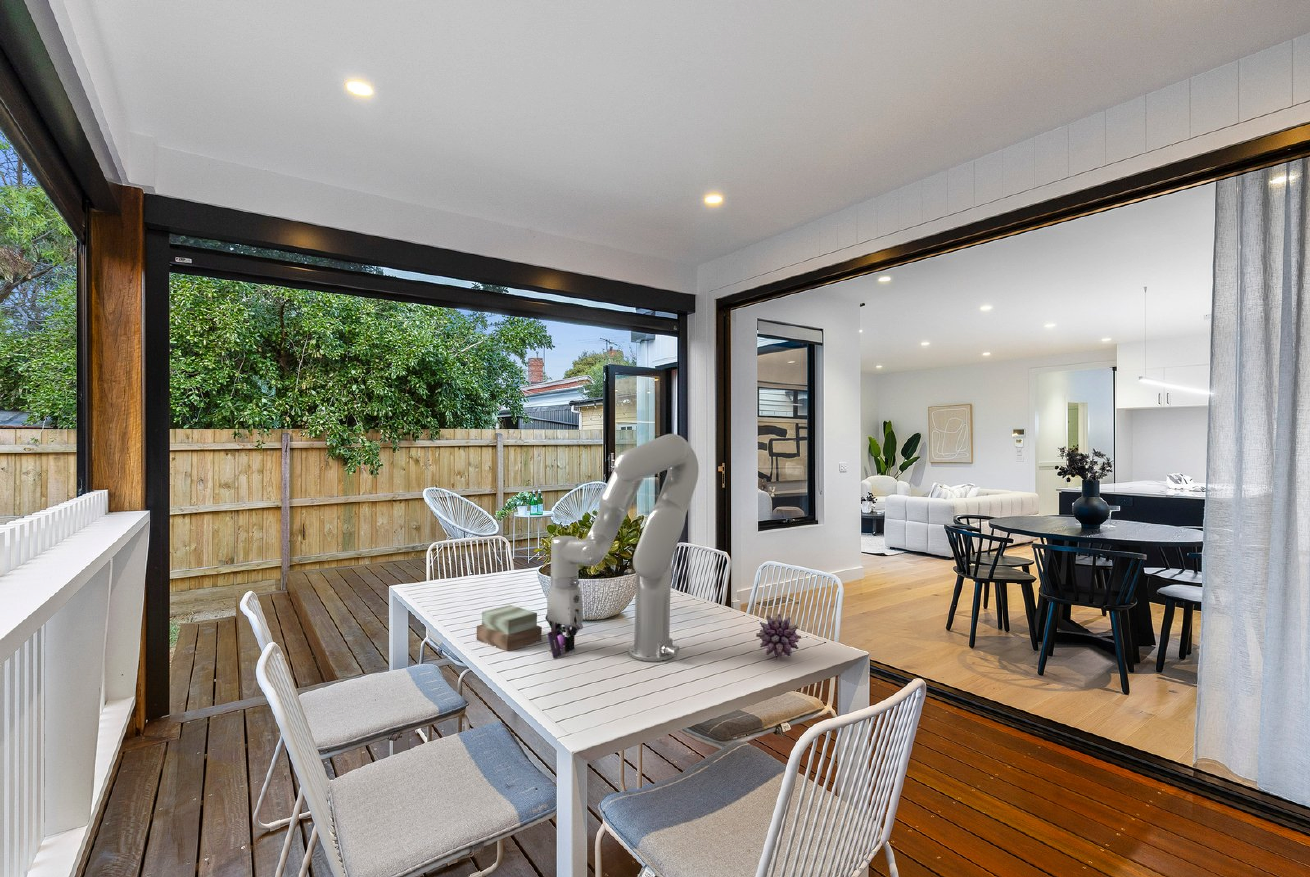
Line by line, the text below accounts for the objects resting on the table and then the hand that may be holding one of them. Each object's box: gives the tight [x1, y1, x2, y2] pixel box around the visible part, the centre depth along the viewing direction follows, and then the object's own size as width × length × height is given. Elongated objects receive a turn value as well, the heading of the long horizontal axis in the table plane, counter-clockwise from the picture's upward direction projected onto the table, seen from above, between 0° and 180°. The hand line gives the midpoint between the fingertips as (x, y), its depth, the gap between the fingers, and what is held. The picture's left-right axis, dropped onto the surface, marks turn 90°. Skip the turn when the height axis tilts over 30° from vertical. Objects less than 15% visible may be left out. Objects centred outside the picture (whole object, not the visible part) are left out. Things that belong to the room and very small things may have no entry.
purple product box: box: [547, 625, 576, 659], centre depth 172 cm, size 7×5×9 cm
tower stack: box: [476, 604, 543, 652], centre depth 180 cm, size 14×12×8 cm
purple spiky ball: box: [755, 613, 802, 660], centre depth 171 cm, size 12×12×12 cm
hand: (563, 647), depth 173 cm, fingers closed on purple product box, 4 cm apart
